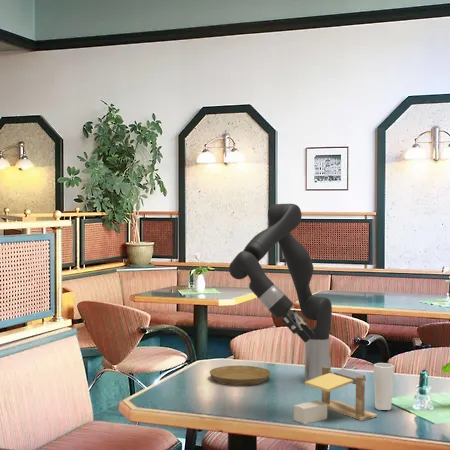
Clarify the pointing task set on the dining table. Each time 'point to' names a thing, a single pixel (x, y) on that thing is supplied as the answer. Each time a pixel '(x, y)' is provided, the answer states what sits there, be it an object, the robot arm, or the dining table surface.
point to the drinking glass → (383, 385)
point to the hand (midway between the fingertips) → (310, 338)
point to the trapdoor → (334, 380)
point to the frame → (344, 408)
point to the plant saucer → (240, 375)
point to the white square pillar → (310, 412)
